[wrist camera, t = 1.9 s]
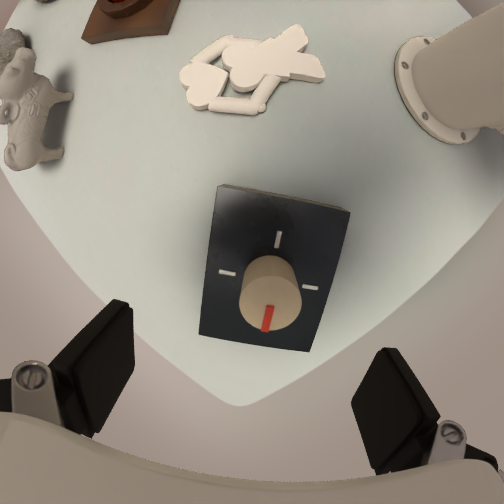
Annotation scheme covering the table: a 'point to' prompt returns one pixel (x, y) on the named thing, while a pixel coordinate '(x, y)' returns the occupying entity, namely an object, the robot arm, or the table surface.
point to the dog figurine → (27, 111)
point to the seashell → (9, 46)
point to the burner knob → (270, 294)
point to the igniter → (129, 19)
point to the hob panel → (269, 244)
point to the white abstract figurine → (248, 70)
